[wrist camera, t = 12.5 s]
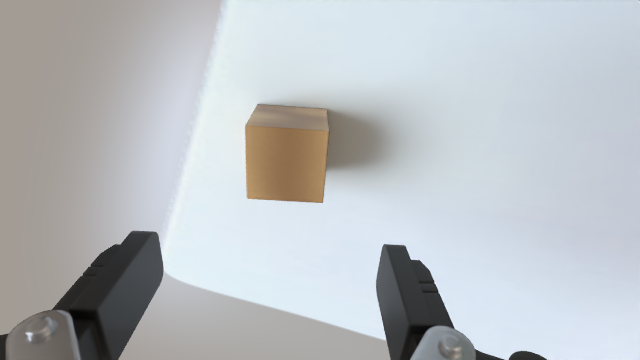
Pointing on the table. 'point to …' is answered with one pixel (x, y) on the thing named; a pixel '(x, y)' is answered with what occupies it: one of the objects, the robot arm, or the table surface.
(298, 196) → the block
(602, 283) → the table surface
